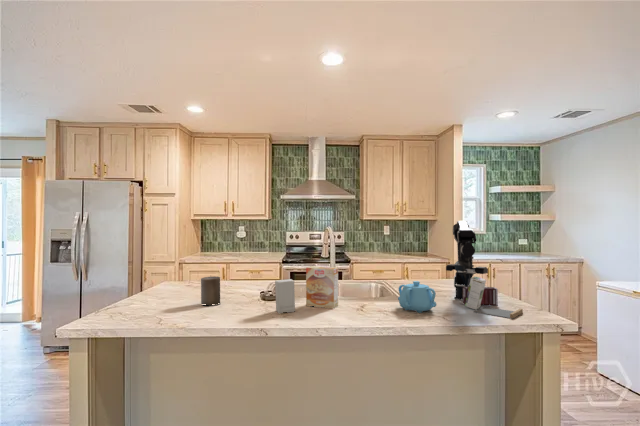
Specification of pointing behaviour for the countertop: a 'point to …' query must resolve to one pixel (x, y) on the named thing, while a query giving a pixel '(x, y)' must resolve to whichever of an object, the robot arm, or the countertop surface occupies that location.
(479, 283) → the syrup box
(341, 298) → the countertop surface
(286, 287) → the skincare box
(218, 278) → the pillar candle
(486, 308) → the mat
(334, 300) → the coffeecake box
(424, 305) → the decorative pot
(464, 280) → the robot arm
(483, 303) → the supplement box
